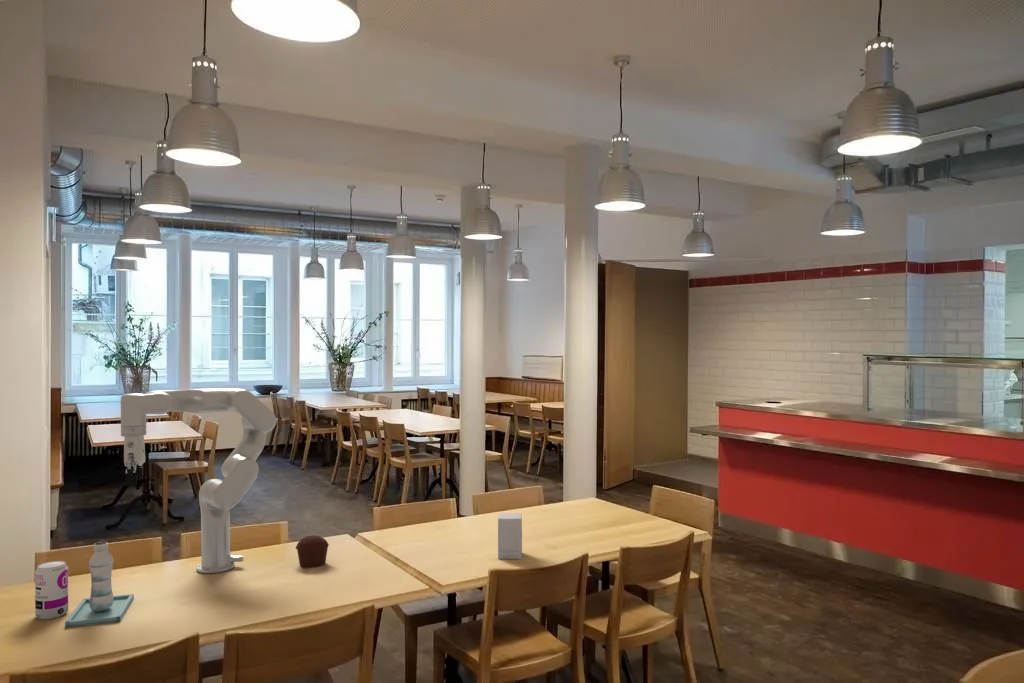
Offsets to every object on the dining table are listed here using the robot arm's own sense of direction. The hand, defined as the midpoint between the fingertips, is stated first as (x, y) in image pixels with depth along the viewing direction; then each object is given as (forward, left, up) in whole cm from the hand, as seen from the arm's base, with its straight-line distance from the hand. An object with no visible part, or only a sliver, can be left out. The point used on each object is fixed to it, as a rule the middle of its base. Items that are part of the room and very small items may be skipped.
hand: (134, 482), depth 242 cm
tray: (+5, +23, -34) cm, 42 cm away
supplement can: (+19, +21, -34) cm, 44 cm away
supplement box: (-128, +7, -35) cm, 133 cm away
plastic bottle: (+5, +23, -34) cm, 41 cm away
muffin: (-57, -6, -35) cm, 67 cm away
